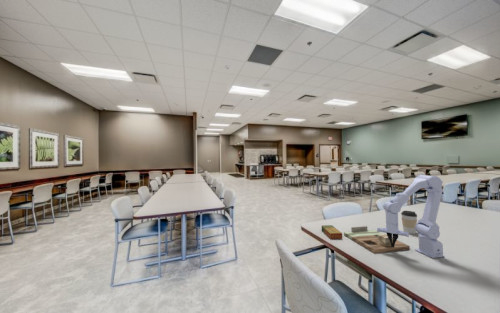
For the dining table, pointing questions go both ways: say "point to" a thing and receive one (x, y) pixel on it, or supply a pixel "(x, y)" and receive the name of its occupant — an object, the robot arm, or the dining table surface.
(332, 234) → the carton
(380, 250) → the board
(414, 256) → the dining table surface
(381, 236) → the block
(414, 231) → the coffee cup
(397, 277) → the dining table surface
